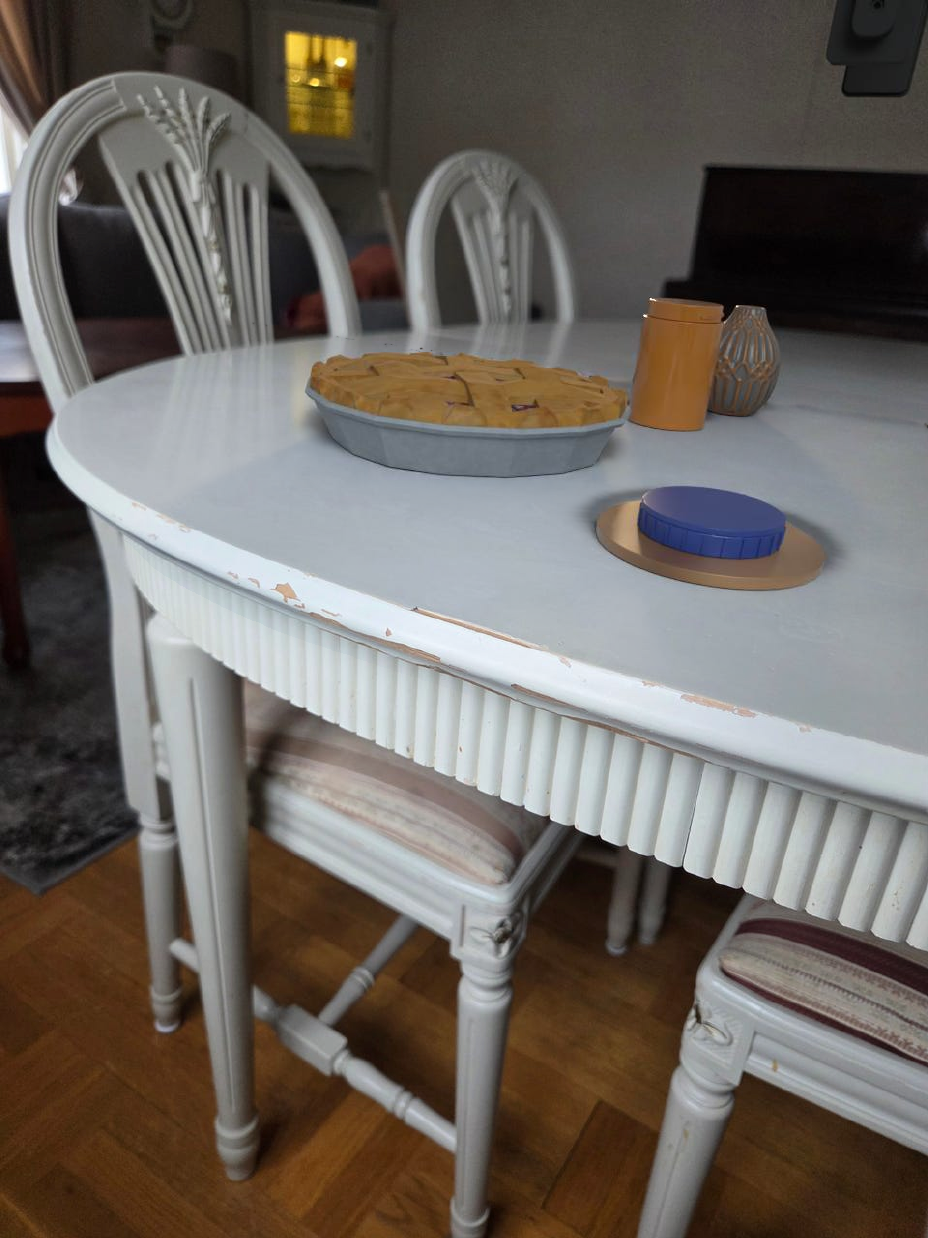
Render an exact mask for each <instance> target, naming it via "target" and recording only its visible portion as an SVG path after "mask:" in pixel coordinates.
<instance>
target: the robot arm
mask: <svg viewBox="0 0 928 1238" xmlns="http://www.w3.org/2000/svg"><path fill="white" fill-rule="evenodd" d="M927 22H928V0H836V3H835V8H834V12H833V16H832V22H831V27H830V32H829V36H828V41H827V46H826V51H825V58H826V62H828V64H829V65H830V66H835V67H837V66H840V67H841V66H842V67H843V66H845V69H844V73H843V77H842V82H841V86H840V87H841V89H840V90H841V93H842V96H843V97H846V98H895V99H897V98H898V99H899V98H903V97H905V96H906V95H908V93H909V92H910V90H911V86H912V83H913V78H914V75H915V70H916V67H917V63H918V59H919V55H920V51H921V47H922V46H921V45H922V43H923V38H924V35H925V31H926V27H927Z"/></svg>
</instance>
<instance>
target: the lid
mask: <svg viewBox="0 0 928 1238" xmlns="http://www.w3.org/2000/svg"><path fill="white" fill-rule="evenodd" d="M641 500H642V502H640V507H639V513H638V519H637V520H638V522H637V526H639V528H640V530H641V532H643V533H644V534H645V535H646V536H648V537H649V538H651V539H653V540H654V541H656V542H658V543H661V544H663V545H665V546H668V547H671V548H674V549H676V550H679V551H684V552H688V553H692V554H696V555H701V556H705V557H714V558H724V559H753V558H761V557H765V556H768V555H771V554H773V553H775V552H776V551H779V548H780V545H782V541H783V537H784V534H785V530H786V527H785V523H786V521H787V518H786V515H785V513H783V511H782V510H781V509H779V508H777V507H776V506H774V505H772V504H770V503H769V502H766V501H764V500H761V499H759V498H755V497H753V496H750V495H746V494H742V493H740V492H735V491H730V490H725V489H720V488H712V487H705V486H694V485H672V486H662V487H656V488H652V489H651V490H648V491H646V492H645V493H644V494H643V495H642V498H641Z"/></svg>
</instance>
